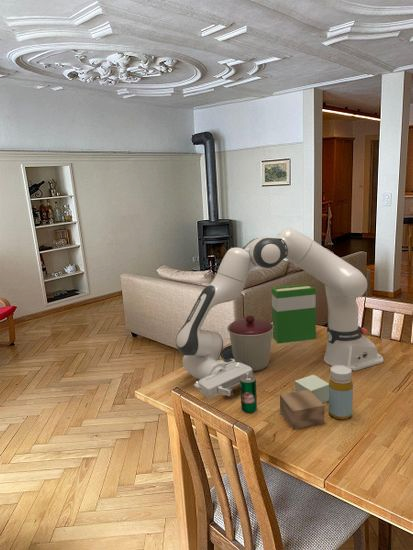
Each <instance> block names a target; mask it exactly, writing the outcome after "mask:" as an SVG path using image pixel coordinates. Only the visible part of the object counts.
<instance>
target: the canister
mask: <svg viewBox="0 0 413 550" xmlns="http://www.w3.org/2000/svg"><path fill="white" fill-rule="evenodd" d="M226 329H227V331H228V334H229V340H230V345H231V352H232V356H233V359H234V360H235V361H236V362H240V363H243V364H245V365H247V366H249V367H251V368H252V371H253V372H258V371H261V370H263V369H265V368H266V367H267V366H268V365H269V362H270V358H271V357H270V356H271V348H272V347H271V346H272V339H273V329H274V326H273V322H270V321H267V320H266V319H264V318H258V317H254V315H252V314H248V315H246V316H245V317H243V318H240V319H237V320H234V321H232V322H231V323H229V324H228V325H227V327H226Z"/></svg>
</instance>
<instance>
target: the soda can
mask: <svg viewBox="0 0 413 550" xmlns="http://www.w3.org/2000/svg"><path fill="white" fill-rule="evenodd" d="M239 386H240V407H241V409H240V410H241V411H242V412H244V413H245V414H253V413H255V412H256V411H257V410H258V400H257V398H258V395H257V377H256V376H255V374H254V373H253V374H252V373H244V374H242V375H241V378H240V384H239Z"/></svg>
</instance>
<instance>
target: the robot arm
mask: <svg viewBox="0 0 413 550" xmlns="http://www.w3.org/2000/svg"><path fill="white" fill-rule="evenodd" d="M284 259H286V260H288V261H289V262H290V263H292V264H294V265H295V266H296V267H299V268H300V269H301V270H303V271H304V272H306V273H307V274H309V276H310V275H311V276H312V277H314V278H315V279H316V280H317V281H319V282H321V283H322V284H323V285H324V287H325V296H326V302H327V309H328V310H327V319H328V320H327V322H328V323H327V327H326V340H327V341H326V342H327V343H326V350H325V354H324V356H323V361H324V362H325V363H326V364H327V365H329V366H331V367H332V366H335V365H344V366H347V367H349V368H351V370H352V371H354V372H355V371H359V370H362V369H366V368H369V367H373V366H376V365H378V364H382V363H384V357H383V356H382V355H381V354H380V353H378V350H377V346H376V345H375V343H374V342H373V341H372V340H370V339H368V338H367V337H366V336H364V335H367V334H368V329H366V328H365V327H361V326H359V306H358V303H357V300H356V299H358V298H361V297H362V296H363V295H364V294H365V293H366V291H367V289H368V279H367V278H366V277H365V275H364V273H362V271H360V270H359V269H358V268H356V267H355V266H353V265H352V264H350V263H349V262H347V261H345V260H344V259H343V258H341V257H339V256H338V255H336V254H334V253H333V252H331V251H330V250H328V249H327V248H325V247H324V246H322V245H321V244H320V243H319V242H316V241H315V240H314V239H312V238H311V237H310V236H307V235H306V234H305V233H304V234H303V233H302V232H300V231H298V230H296V229H293V228H291V227H290V228H289V227H287V228H284V229H282V230H281V231H279V233H278V234H277V235H276V237H267V236H264V237H258V238H253V239H251V240H250V241H248V243H247V244H245V245H244V246H243V247H242V248H241V247H231V248H229V249H228V250H227V252H226V253H225V254H224V256H223V258H222V260H221V262H220V265H219V267H218V269H217V272H216V274H215V276H214V278H213V280H212V281H211V283H210V284H209V285H207V286H205V287H204V288H203V289H202V291H201V292H200V294H199V295H198V296H197V297H198V298H197V300H196V302H195V303H194V305H193V307H192V309H191V311H190V313H189V315H188V317H187V319H186V321H185V323H184V324H183V325H182V327H181V328H180V330H179V331H178V332H177V334H176V337H175V344H176V345H175V346H176V349H177V351H178V352H179V353H180V354H181V355H182V356H183V357H182V366H183V368H184V370H185V371H186V372H187V373H188V374H189V375H190V376H192V377H193V378H195V379H197V380H196V381H195V383H194V384H193V387H194V388H195V389H197V390H199V392H200V393H201V394H203V395H204V396H205V397H207V398H213V397H215V396H218V395H223V396H227V397H230V396H232V395H233V394H234V393H233V389H232V388H235V387H236V386H238V385H239V386H240V378H241V375H242V374H244V373H252V374H254V373H253V372H254V371H252V368H251V367H249V366H247V365H245V364H243V363H240V362H236V361H235V360H234V358H229V359H222V360H221V359H220V358H221V356H222V355H221V354H222V353H223V349H224V340H223V337H222V336H221V334H220V333H219V332H218V331H214V330H213V331H212V330H208V329H201V328H202V326H203V325H204V323H205V319H206V318H207V316H208V315H209V312H210V311H211V310H212V308H214V307H215V306H217V305H220V304H223V303H230V302H232V301H234V300H237V299H238V298H239V297H240V296H241V294H242V293H243V291H244V288H245V285H246V282H247V280H248V277H249V274H250V273H251V270H252V269H254V268H255V267H258V268H264V269H273V268H274V267H276V266H278V265H279V264H280V263H281V262H282V261H283V260H284ZM363 334H364V335H363Z"/></svg>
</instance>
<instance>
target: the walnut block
mask: <svg viewBox="0 0 413 550" xmlns="http://www.w3.org/2000/svg"><path fill="white" fill-rule="evenodd" d="M279 412H280V413H281V415H282V416H283V417H284V419H285V420H286V422H287V423H288V424H289V426H290V427H291V428H292V429H293V430H299V429H302V428H308V427H313V426H318V425H323V424H325V404H324V403H322V402H321V401H320V400H319V399H318V398H317V397H316V396H315V395H314V394H313V393H312V392H311V391H310V390H309V389H308V390H302V391H297V392H295V391H291V392H287V393H286V392H285V393H281V394H279Z"/></svg>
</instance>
